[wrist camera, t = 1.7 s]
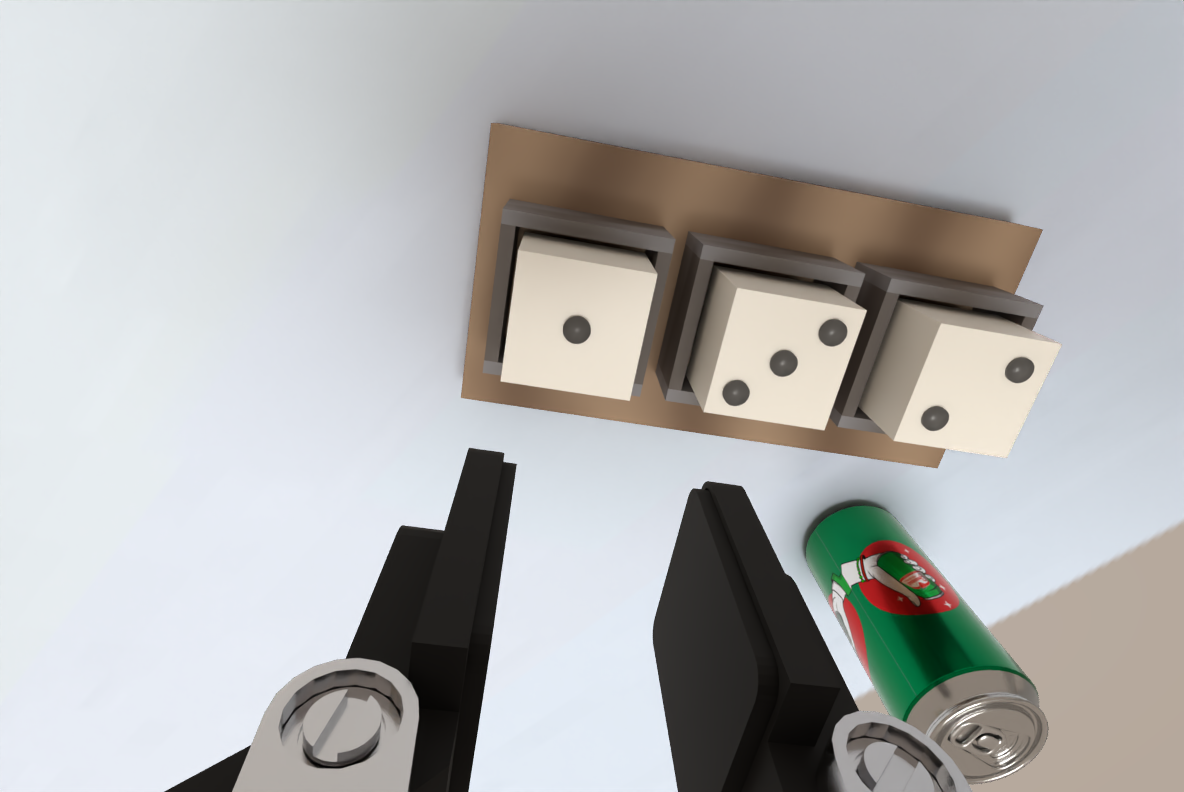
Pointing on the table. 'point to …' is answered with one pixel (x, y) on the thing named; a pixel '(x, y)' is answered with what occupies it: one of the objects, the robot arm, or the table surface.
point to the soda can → (925, 645)
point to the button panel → (734, 240)
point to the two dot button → (955, 378)
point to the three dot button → (772, 348)
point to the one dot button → (577, 316)
